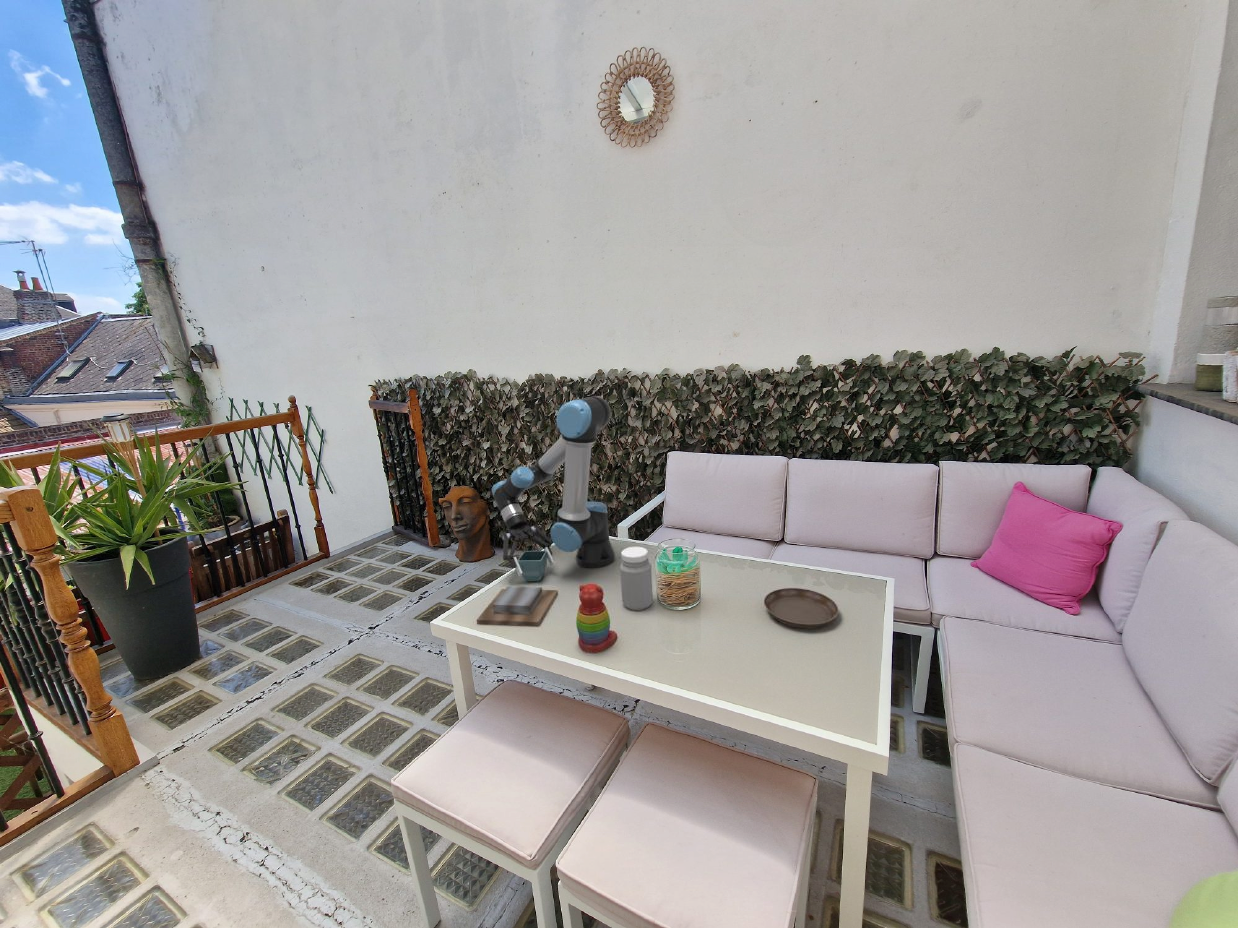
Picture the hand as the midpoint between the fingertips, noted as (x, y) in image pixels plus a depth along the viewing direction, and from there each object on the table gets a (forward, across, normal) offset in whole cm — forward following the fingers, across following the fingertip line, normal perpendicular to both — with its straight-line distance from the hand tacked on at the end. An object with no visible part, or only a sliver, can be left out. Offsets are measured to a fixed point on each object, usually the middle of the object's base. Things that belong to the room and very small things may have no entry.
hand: (536, 569), depth 181 cm
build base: (+13, +14, +6) cm, 20 cm away
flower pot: (+1, 0, -5) cm, 5 cm away
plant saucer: (+56, -49, +48) cm, 89 cm away
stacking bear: (+36, +5, +29) cm, 47 cm away
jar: (+30, -17, +23) cm, 41 cm away
